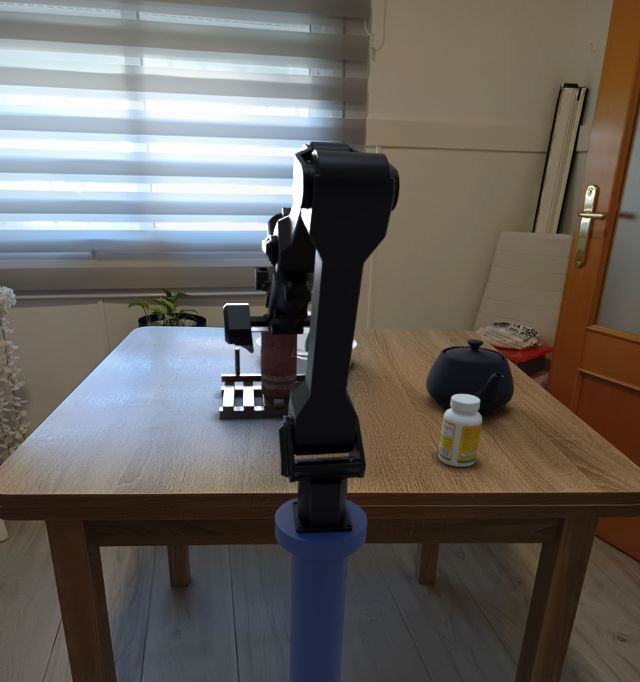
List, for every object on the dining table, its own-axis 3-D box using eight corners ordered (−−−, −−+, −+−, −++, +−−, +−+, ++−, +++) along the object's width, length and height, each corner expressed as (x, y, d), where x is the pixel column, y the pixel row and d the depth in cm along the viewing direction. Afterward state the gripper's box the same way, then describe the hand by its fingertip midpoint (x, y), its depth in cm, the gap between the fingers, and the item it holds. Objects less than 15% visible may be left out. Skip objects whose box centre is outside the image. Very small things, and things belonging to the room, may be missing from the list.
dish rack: (338, 418, 98) (340, 369, 94) (219, 420, 95) (217, 370, 92) (327, 391, 111) (328, 347, 107) (222, 392, 108) (220, 347, 105)
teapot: (410, 385, 116) (416, 325, 112) (484, 385, 118) (493, 326, 113) (447, 433, 93) (456, 360, 89) (538, 432, 95) (552, 361, 90)
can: (276, 386, 105) (276, 309, 99) (303, 394, 101) (305, 315, 96) (253, 394, 100) (252, 314, 95) (280, 402, 97) (280, 320, 91)
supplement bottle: (434, 463, 83) (442, 400, 79) (442, 449, 87) (450, 389, 84) (472, 471, 81) (481, 407, 77) (478, 456, 85) (487, 395, 82)
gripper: (345, 250, 88) (326, 309, 102) (221, 249, 84) (220, 310, 98) (356, 312, 83) (335, 364, 97) (226, 313, 80) (224, 367, 94)
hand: (279, 350), depth 97 cm, fingers open, 9 cm apart
